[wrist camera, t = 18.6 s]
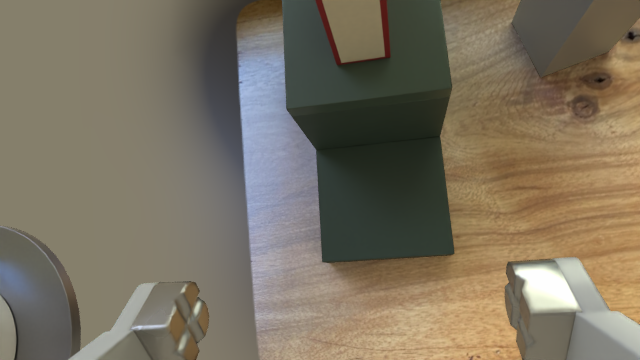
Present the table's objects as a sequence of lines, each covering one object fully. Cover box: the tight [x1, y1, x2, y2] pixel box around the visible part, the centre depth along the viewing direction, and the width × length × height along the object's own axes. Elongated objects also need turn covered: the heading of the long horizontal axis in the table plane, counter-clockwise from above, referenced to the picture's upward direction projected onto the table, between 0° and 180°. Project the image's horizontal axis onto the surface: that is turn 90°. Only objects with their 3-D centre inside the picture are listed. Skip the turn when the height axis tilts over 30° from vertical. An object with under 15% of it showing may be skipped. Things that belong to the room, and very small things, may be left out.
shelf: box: [282, 0, 454, 263], centre depth 38 cm, size 12×25×14 cm, turn 3°
